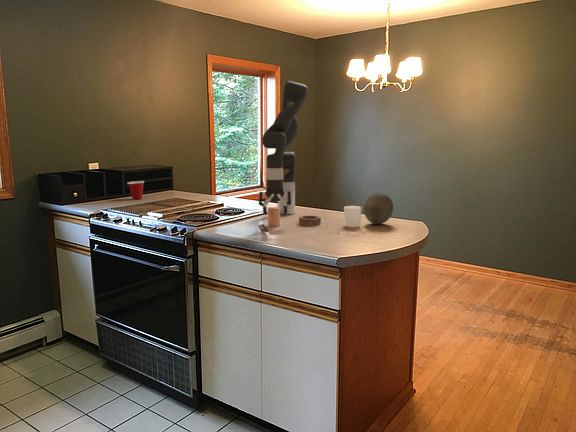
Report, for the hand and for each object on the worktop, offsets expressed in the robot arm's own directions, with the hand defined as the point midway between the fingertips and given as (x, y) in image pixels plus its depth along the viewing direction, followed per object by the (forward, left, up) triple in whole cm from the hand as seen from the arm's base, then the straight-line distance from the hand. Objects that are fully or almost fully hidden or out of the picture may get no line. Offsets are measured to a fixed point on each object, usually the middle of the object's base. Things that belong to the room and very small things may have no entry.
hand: (275, 214), depth 205 cm
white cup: (+3, +35, -7) cm, 36 cm away
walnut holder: (-5, +17, -7) cm, 19 cm away
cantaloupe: (-4, +50, -7) cm, 51 cm away
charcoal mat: (-5, 0, -7) cm, 9 cm away
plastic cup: (-119, -76, -7) cm, 141 cm away
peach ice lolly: (-2, 0, -7) cm, 7 cm away
